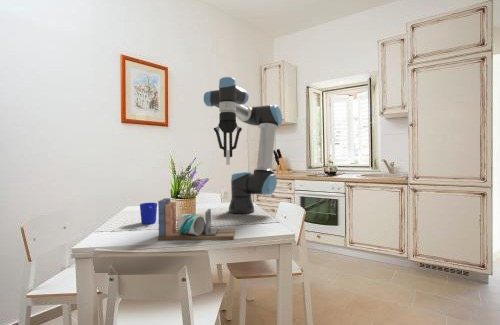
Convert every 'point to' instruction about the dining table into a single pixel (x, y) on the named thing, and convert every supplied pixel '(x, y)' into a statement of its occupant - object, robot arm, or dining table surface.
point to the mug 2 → (191, 224)
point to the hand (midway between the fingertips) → (228, 164)
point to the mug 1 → (148, 213)
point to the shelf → (170, 233)
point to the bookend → (209, 224)
